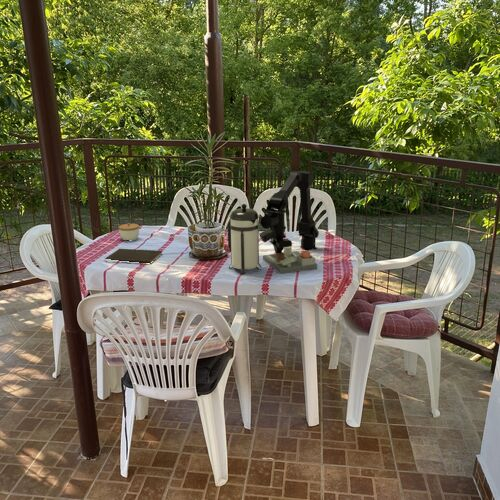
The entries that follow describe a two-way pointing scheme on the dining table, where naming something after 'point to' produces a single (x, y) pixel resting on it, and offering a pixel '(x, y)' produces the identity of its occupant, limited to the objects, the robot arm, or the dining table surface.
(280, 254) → the walnut knob
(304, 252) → the red button
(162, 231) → the dining table surface
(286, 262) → the green rocker
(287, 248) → the offwhite knob
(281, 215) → the robot arm
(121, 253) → the hardcover book
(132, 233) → the lidded jar
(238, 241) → the coffee press
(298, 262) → the panel
